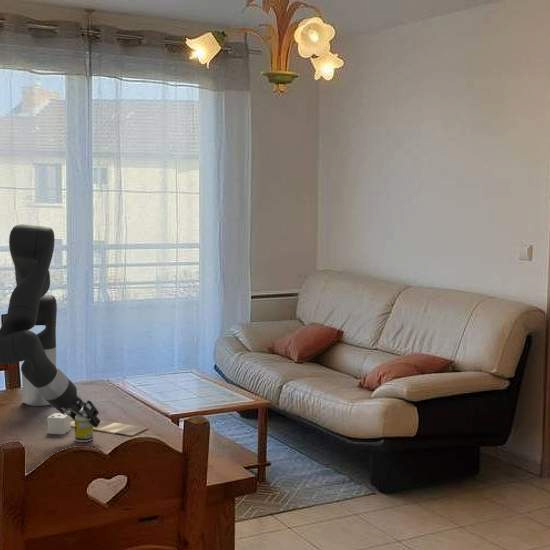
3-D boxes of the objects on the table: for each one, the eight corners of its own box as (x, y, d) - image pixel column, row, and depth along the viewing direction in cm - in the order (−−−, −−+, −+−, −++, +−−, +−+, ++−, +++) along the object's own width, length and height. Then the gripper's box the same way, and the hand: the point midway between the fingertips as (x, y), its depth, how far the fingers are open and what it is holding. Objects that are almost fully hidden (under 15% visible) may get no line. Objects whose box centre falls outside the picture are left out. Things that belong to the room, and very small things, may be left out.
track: (64, 425, 225) (64, 424, 225) (82, 419, 232) (82, 417, 232) (131, 436, 216) (131, 435, 216) (148, 429, 223) (148, 427, 223)
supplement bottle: (76, 437, 215) (76, 406, 214) (94, 437, 215) (94, 406, 214) (73, 442, 210) (73, 410, 209) (92, 442, 210) (91, 410, 210)
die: (47, 433, 218) (47, 417, 217) (54, 429, 222) (54, 412, 222) (63, 434, 217) (63, 418, 217) (70, 430, 221) (70, 413, 221)
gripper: (83, 377, 201) (116, 414, 212) (42, 370, 208) (76, 406, 220) (67, 403, 197) (102, 439, 208) (26, 394, 204) (62, 430, 216)
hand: (89, 422), depth 214 cm, fingers open, 5 cm apart
